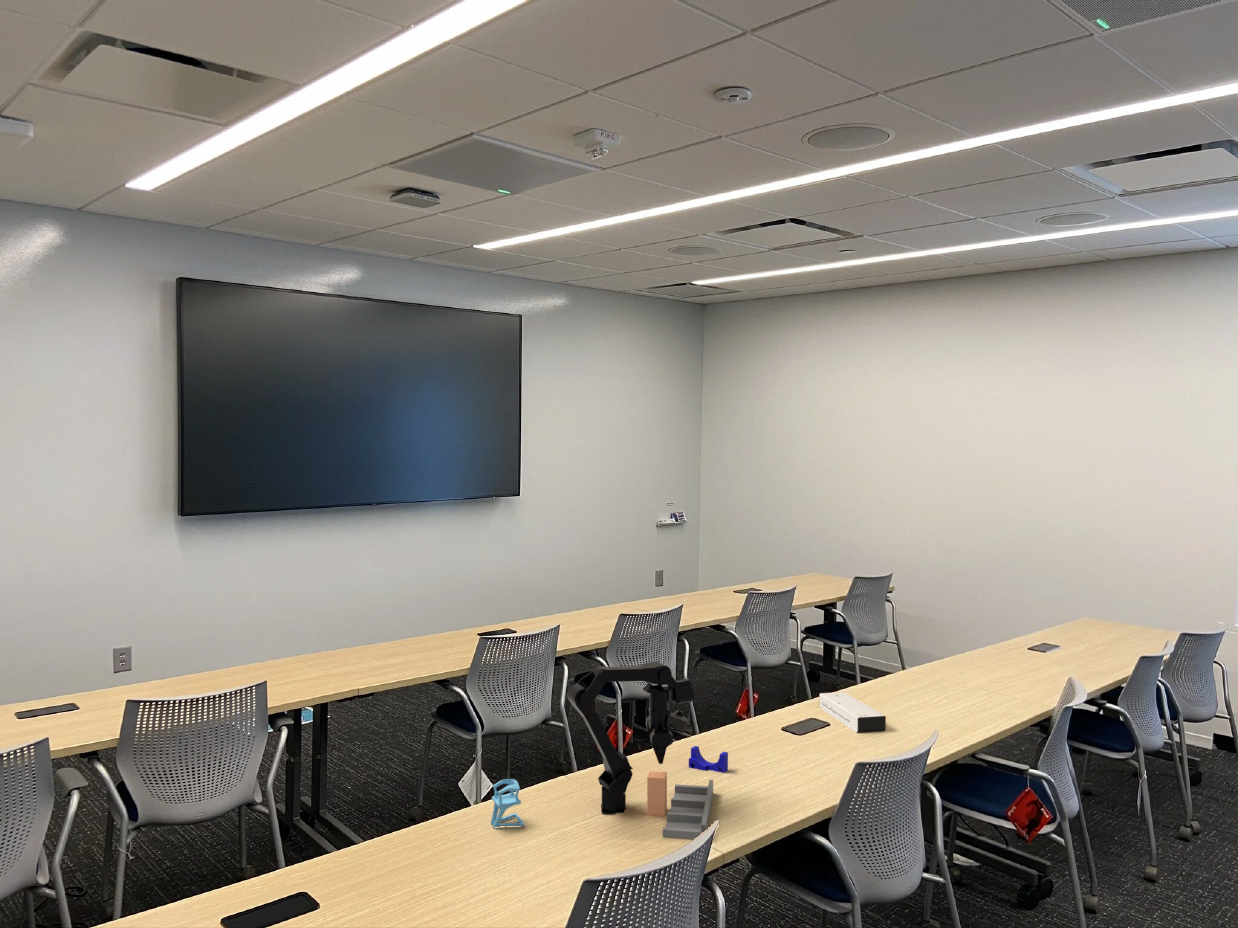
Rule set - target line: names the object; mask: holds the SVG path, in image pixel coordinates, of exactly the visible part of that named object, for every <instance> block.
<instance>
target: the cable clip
mask: <svg viewBox="0 0 1238 928" xmlns="http://www.w3.org/2000/svg"><path fill="white" fill-rule="evenodd" d="M688 768H690V769H695V770H699V771H705V772H706V771H707V770H708V771H713V772H717V773H722V774H725V773H727V771H728V770H729V752H727V751H722V752H721V753H719V757H718V759H717V761H716V762H710V761H708V760H706V759H705V758H704V757H703V755H702V754H701V751H700V746H698V745H694V746H692V747H691V748H690V757H689V758H688Z"/></svg>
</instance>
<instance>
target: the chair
mask: <svg viewBox="0 0 1238 928" xmlns="http://www.w3.org/2000/svg"><path fill="white" fill-rule="evenodd" d="M504 784H506V786H505V787H503V788H502V789H500V790H498V791H497V788H499V786H501V785H504ZM492 788H493V790H494V791H493V792H494V795H493V796H491V800H492V801H493V804H494V805H493V810H492V815H491V819H490V825H491V824H493V825H492V827H493V826H494V827H500V826H505V827H506V826H524V827H525V822H524V821H523V819H522V818H521V817H520V816H519V815H518V813H511V814H508V815H506V816H504V814H505V812H506V811H507V810H508V809H509V808H511V807H514V806H517V805H521V804H522V800H521V799H520V798H519V792H520V789H521V788H520V784H519V782H518V781H517V780H516V779H514V778H509V779H508V778H505V779H502V780H500V781H498V782H496V783H495V784H492ZM507 792H509V793H507ZM504 793H506V794H504ZM512 817H516V818H517V819H516V818H515V819H516V820H517V822H513V823H511V822H509V823H508V822H507V823H505V821H504V820H506V821H508V819H509V818H512ZM512 819H513V818H512ZM509 820H510V819H509ZM501 821H504V823H503V822H501ZM499 822H501V823H499ZM519 822H520V823H519Z"/></svg>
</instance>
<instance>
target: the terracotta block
mask: <svg viewBox="0 0 1238 928" xmlns="http://www.w3.org/2000/svg"><path fill="white" fill-rule="evenodd" d="M646 789H647V792H646V793H647V794H646V796H647V799H646V801H647V802H646V803H647V804H646V806H647V809H646V814H647V816H659V817H661V816H663V817H664V816H666V814H667V810H668V800H667V799H668V797H667V796H668V773H667V771H664V772H663V771H651V770H650V771H649V772H648V775H647V786H646Z"/></svg>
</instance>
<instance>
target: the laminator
mask: <svg viewBox="0 0 1238 928" xmlns="http://www.w3.org/2000/svg"><path fill="white" fill-rule="evenodd" d="M818 698H819V701H818V703H819V709H821V710H823V711H824V712H825V713H827V714H828V715H830V716H831V717H833V718H834V719H836V720H837V721H839V722H840V723H842V724H843V725H845V726H846V727H848V728H849V729H850V730H852V731H853V732H855V733H857V734H858V733H873V732H885V731H886V729H887V728H886V725H887V723H886V722H887V721H886V720H887V719H886V718H887V717H886V715H884V714H882V713H881V712H879V711H877V710H876V709H874V708H872V707H871V706H869V705H867V704H865V703H864V702H862V701H860V700H859V699H858V698H855V697H854V696H852V695H850V694H849V693H847V692H846V691H841V692H840V691H839V692H821V693H819V696H818Z"/></svg>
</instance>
